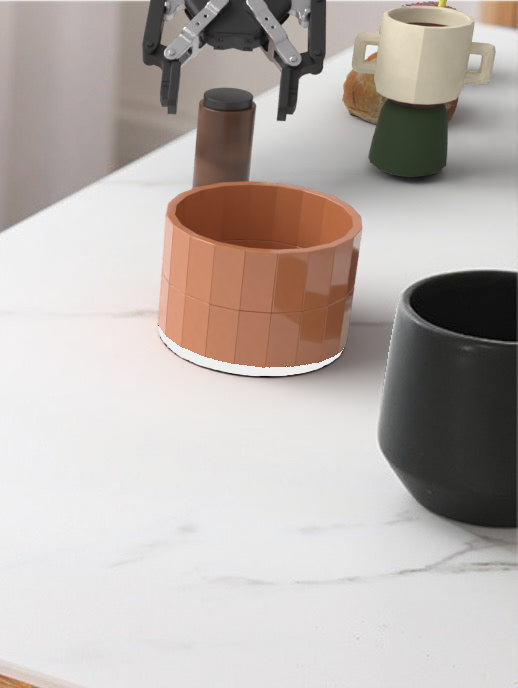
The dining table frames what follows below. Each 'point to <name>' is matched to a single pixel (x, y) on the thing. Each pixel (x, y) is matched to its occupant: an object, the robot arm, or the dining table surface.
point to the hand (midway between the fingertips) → (226, 113)
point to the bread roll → (371, 96)
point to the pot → (259, 273)
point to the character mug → (419, 83)
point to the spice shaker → (224, 137)
